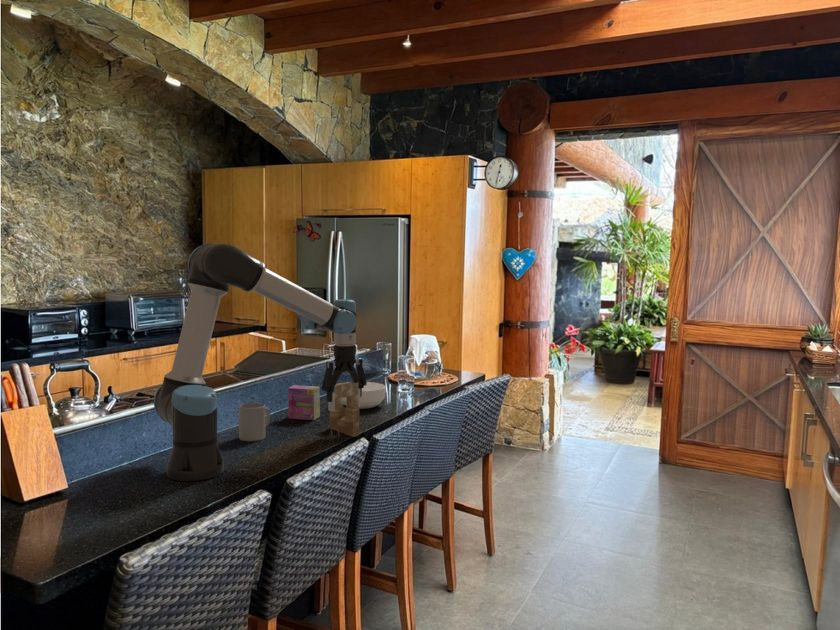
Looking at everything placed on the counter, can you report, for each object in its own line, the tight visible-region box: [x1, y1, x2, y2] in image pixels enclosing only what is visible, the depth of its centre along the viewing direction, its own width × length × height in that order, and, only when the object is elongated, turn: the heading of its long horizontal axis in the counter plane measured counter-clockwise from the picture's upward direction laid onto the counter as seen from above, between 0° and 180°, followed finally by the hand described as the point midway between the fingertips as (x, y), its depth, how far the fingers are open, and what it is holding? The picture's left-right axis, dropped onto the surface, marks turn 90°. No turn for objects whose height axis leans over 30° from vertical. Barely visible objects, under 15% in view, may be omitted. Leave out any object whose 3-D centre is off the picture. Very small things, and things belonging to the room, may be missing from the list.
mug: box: [238, 402, 271, 442], centre depth 213 cm, size 12×8×11 cm
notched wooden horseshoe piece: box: [333, 380, 359, 412], centre depth 221 cm, size 10×2×9 cm, turn 132°
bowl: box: [342, 381, 386, 410], centre depth 260 cm, size 20×20×8 cm
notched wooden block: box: [329, 404, 360, 437], centre depth 222 cm, size 2×14×9 cm, turn 42°
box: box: [287, 384, 321, 421], centre depth 240 cm, size 10×6×12 cm, turn 76°
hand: (344, 408), depth 221 cm, fingers closed on notched wooden horseshoe piece, 10 cm apart
